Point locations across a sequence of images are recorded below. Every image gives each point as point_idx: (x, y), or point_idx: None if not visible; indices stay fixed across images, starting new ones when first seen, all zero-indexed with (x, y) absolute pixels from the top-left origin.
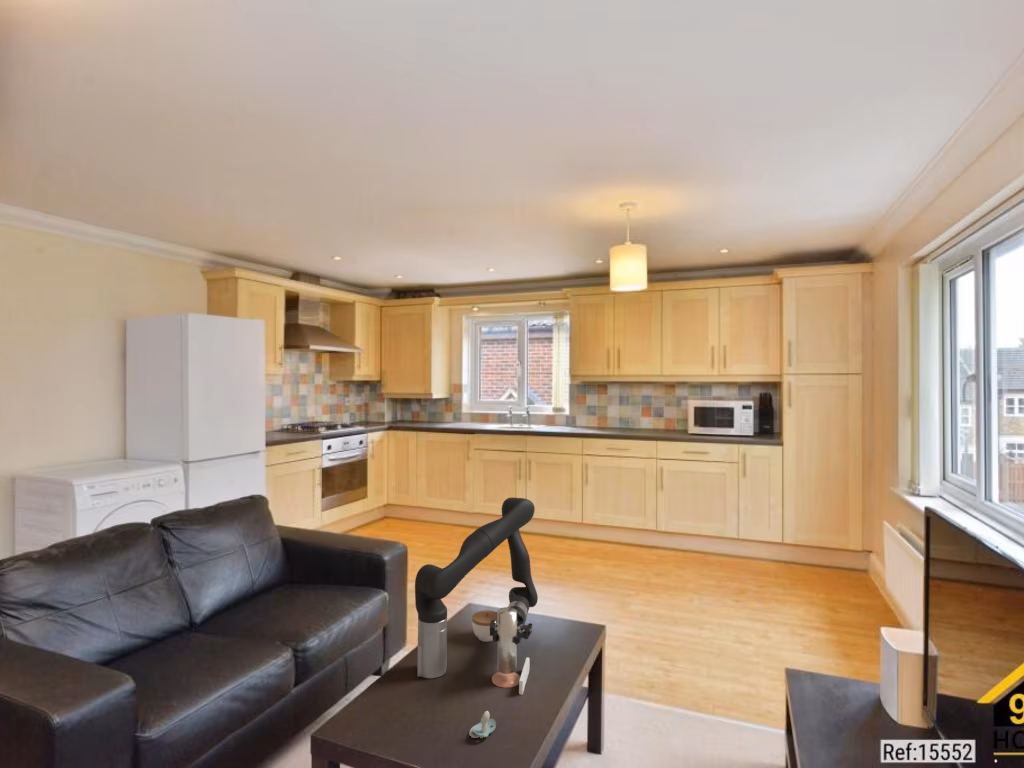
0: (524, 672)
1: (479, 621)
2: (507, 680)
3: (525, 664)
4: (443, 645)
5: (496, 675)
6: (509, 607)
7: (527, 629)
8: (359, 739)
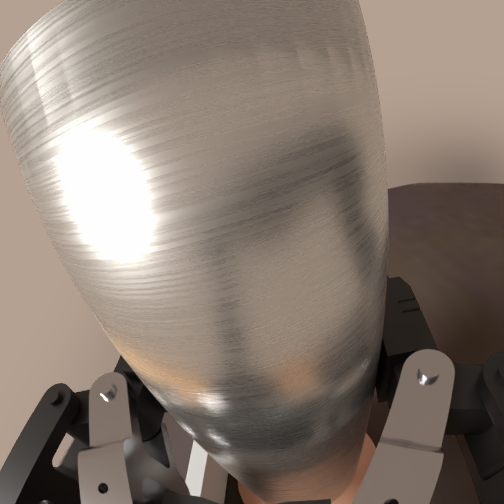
0: None
1: None
2: None
3: (194, 494)
4: None
5: (362, 480)
6: (60, 12)
7: (37, 423)
8: (480, 189)
